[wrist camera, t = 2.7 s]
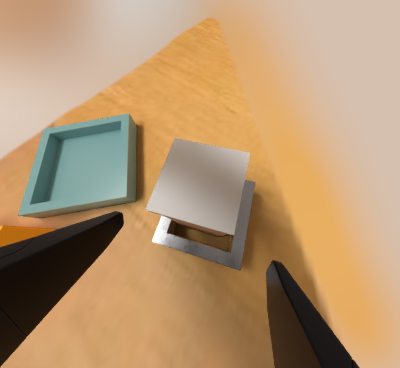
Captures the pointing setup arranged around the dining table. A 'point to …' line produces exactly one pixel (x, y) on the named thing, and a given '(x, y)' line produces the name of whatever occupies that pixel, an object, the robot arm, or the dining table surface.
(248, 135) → the dining table surface
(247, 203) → the collar
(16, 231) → the pipe clamp
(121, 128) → the tray
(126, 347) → the dining table surface
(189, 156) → the walnut peg
